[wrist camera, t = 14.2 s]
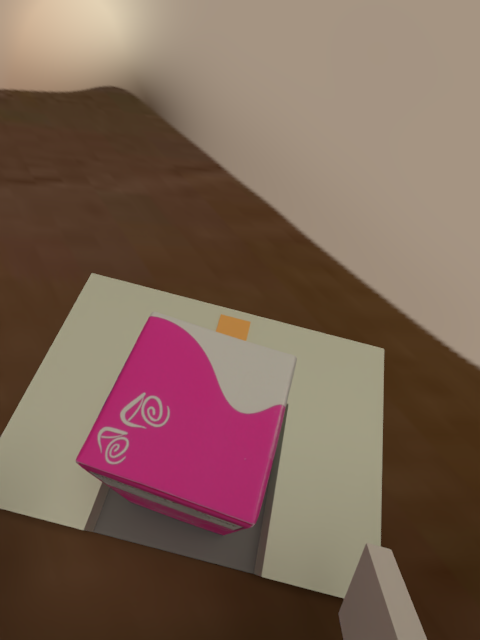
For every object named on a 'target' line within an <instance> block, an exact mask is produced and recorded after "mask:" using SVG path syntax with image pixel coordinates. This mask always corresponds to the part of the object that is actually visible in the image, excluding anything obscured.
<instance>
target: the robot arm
mask: <svg viewBox="0 0 480 640" xmlns="http://www.w3.org/2000/svg"><path fill="white" fill-rule="evenodd" d="M338 614H339V619H340V624H341V630H342V635H343V640H427V638H426V636H425V633H424V631H423V628H422V626H421V623H420V621H419V618H418V616H417V613H416V611H415V608H414V606H413V603H412V601H411V598H410V596H409V593H408V591H407V588H406V586H405V583H404V581H403V578H402V576H401V573H400V571H399V568H398V566H397V563H396V561H395V558H394V556H393V553H392V551H391V549H388V548H384V547H380V546H376V545H373V544H369V543H366V545H365V547H364V550H363V552H362V555H361V557H360V560H359V563H358V565H357V568H356V570H355V573H354V575H353V578H352V580H351V583H350V585H349V588H348V590H347V593H346V595H345V598H344V600H343V603H342V606H341V608H340V611H339V613H338Z"/></svg>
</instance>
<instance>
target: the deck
mask: <svg viewBox="0 0 480 640" xmlns="http://www.w3.org/2000/svg"><path fill="white" fill-rule="evenodd" d="M152 312H158V313H161V314H164V315H167V316H170V317H173V318H176V319H179V320H182V321H185V322H189V323H192V324H195V325H198V326H201V327H204V328H207V329H210V330H213V331H216V332H219V333H222V334H225V335H228V336H231V337H234V338H238V339H241V340H244V341H247V342H251V343H254V344H257V345H261V346H264V347H267V348H271V349H274V350H277V351H281V352H284V353H288V354H291V355H294V356H296V357H297V362H296V367H295V371H294V376H293V379H292V384H291V388H290V392H289V396H288V401H287V405H286V409H285V413H284V418H283V422H282V426H281V431H280V435H279V439H278V443H277V448H276V452H275V456H274V460H273V464H272V468H271V472H270V476H269V480H268V484H267V488H266V492H265V495H264V499H263V503H262V507H261V510H260V514H259V517H258V519H257V522H256V524H255V525H254V526H253V527H251V528H247V529H242V530H239V531H236V532H233V533H230V534H226V535H220V534H217V533H214V532H211V531H208V530H205V529H202V528H200V527H197V526H194V525H191V524H188V523H186V522H183V521H180V520H177V519H174V518H172V517H169V516H166V515H164V514H161V513H158V512H156V511H153V510H150V509H148V508H145V507H142V506H140V505H137V504H134V503H131V502H130V501H128V500H127V499H126V498H124V497H123V496H121V495H120V494H119V493H117V492H116V491H115V490H113V489H112V488H110V487H108V486H107V485H106V484H104V483H103V482H102V481H100V480H99V479H97V478H96V477H94V476H93V475H91V474H90V473H89V472H87V471H86V470H85V469H83V468H82V467H81V466H79V465H78V464H77V463H76V458H77V456H78V454H79V452H80V450H81V448H82V447H83V445H84V443H85V441H86V439H87V437H88V435H89V433H90V431H91V429H92V427H93V425H94V423H95V421H96V419H97V418H98V415H99V413H100V411H101V409H102V407H103V405H104V403H105V401H106V399H107V397H108V396H109V394H110V392H111V390H112V388H113V386H114V384H115V382H116V380H117V378H118V376H119V374H120V372H121V370H122V368H123V366H124V364H125V362H126V360H127V359H128V357H129V355H130V353H131V351H132V349H133V347H134V345H135V343H136V341H137V339H138V337H139V335H140V333H141V331H142V329H143V327H144V325H145V324H146V322H147V320H148V318H149V316H150V314H151V313H152ZM383 385H384V349H382V348H379V347H375V346H371V345H367V344H363V343H359V342H355V341H352V340H348V339H344V338H340V337H336V336H332V335H328V334H325V333H321V332H317V331H313V330H309V329H305V328H302V327H298V326H294V325H290V324H286V323H282V322H278V321H275V320H271V319H267V318H263V317H259V316H255V315H251V314H248V313H244V312H240V311H236V310H232V309H228V308H225V307H221V306H217V305H213V304H209V303H205V302H201V301H198V300H194V299H190V298H186V297H182V296H178V295H175V294H171V293H167V292H163V291H159V290H155V289H151V288H148V287H144V286H140V285H136V284H132V283H128V282H124V281H121V280H117V279H113V278H109V277H105V276H101V275H98V274H94V273H92V274H91V275H90V277H89V279H88V281H87V283H86V284H85V286H84V288H83V290H82V292H81V293H80V295H79V297H78V299H77V301H76V302H75V304H74V306H73V308H72V310H71V311H70V313H69V315H68V317H67V319H66V320H65V322H64V324H63V326H62V328H61V329H60V331H59V333H58V335H57V337H56V338H55V340H54V342H53V344H52V346H51V347H50V349H49V351H48V353H47V355H46V356H45V358H44V360H43V362H42V364H41V365H40V367H39V369H38V371H37V373H36V374H35V376H34V378H33V380H32V382H31V383H30V385H29V387H28V389H27V391H26V392H25V394H24V396H23V398H22V400H21V401H20V403H19V405H18V407H17V409H16V410H15V412H14V414H13V416H12V418H11V419H10V421H9V423H8V425H7V427H6V428H5V430H4V432H3V434H2V436H1V437H0V509H4V510H8V511H12V512H16V513H19V514H23V515H27V516H31V517H35V518H38V519H42V520H46V521H50V522H54V523H58V524H61V525H65V526H69V527H73V528H77V529H80V530H85V531H91V532H96V533H99V534H103V535H107V536H111V537H115V538H118V539H122V540H126V541H130V542H134V543H138V544H141V545H145V546H149V547H153V548H157V549H160V550H164V551H168V552H172V553H176V554H180V555H183V556H187V557H191V558H195V559H199V560H202V561H206V562H210V563H214V564H218V565H222V566H225V567H229V568H233V569H237V570H241V571H244V572H248V573H252V574H255V575H258V576H260V577H264V578H268V579H271V580H275V581H279V582H283V583H287V584H290V585H294V586H298V587H302V588H306V589H310V590H313V591H317V592H321V593H325V594H329V595H332V596H336V597H340V598H345V595H346V593H347V590H348V588H349V585H350V583H351V580H352V578H353V575H354V573H355V570H356V568H357V565H358V563H359V560H360V557H361V555H362V552H363V550H364V547H365V545H366V543H369V544H373V545H376V546H380V547H381V499H382V442H383Z"/></svg>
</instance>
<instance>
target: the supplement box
mask: <svg viewBox="0 0 480 640" xmlns="http://www.w3.org/2000/svg"><path fill="white" fill-rule="evenodd" d="M296 362H297V357H296V356H294V355H291V354H288V353H284V352H281V351H277V350H274V349H271V348H267V347H264V346H261V345H257V344H254V343H251V342H247V341H244V340H241V339H238V338H234V337H231V336H228V335H225V334H222V333H219V332H216V331H213V330H210V329H207V328H204V327H201V326H198V325H195V324H192V323H189V322H185V321H182V320H179V319H176V318H173V317H170V316H167V315H164V314H161V313H158V312H152V313H151V314H150V316H149V318H148V320H147V322H146V324H145V325H144V327H143V329H142V331H141V333H140V335H139V337H138V339H137V341H136V343H135V345H134V347H133V349H132V351H131V353H130V355H129V357H128V359H127V360H126V362H125V364H124V366H123V368H122V370H121V372H120V374H119V376H118V378H117V380H116V382H115V384H114V386H113V388H112V390H111V392H110V394H109V396H108V397H107V399H106V401H105V403H104V405H103V407H102V409H101V411H100V413H99V415H98V418H97V419H96V421H95V423H94V425H93V427H92V429H91V431H90V433H89V435H88V437H87V439H86V441H85V443H84V445H83V447H82V448H81V450H80V452H79V454H78V456H77V458H76V463H77V464H78V465H79V466H81V467H82V468H83V469H85V470H86V471H87V472H89V473H90V474H91V475H93V476H94V477H96V478H97V479H99V480H100V481H102V482H103V483H104V484H106V485H107V486H108V487H110V488H112V489H113V490H115V491H116V492H117V493H119V494H120V495H121V496H123V497H124V498H126V499H127V500H128V501H130V502H131V503H134V504H137V505H140V506H142V507H145V508H148V509H150V510H153V511H156V512H158V513H161V514H164V515H166V516H169V517H172V518H174V519H177V520H180V521H183V522H186V523H188V524H191V525H194V526H197V527H200V528H202V529H205V530H208V531H211V532H214V533H217V534H220V535H226V534H230V533H233V532H236V531H239V530H242V529H247V528H251V527H253V526H254V525H255V524H256V522H257V519H258V517H259V514H260V510H261V507H262V503H263V499H264V495H265V492H266V488H267V484H268V480H269V476H270V472H271V468H272V464H273V460H274V456H275V452H276V448H277V443H278V439H279V435H280V431H281V426H282V422H283V418H284V413H285V409H286V405H287V401H288V396H289V392H290V388H291V384H292V379H293V376H294V371H295V367H296Z"/></svg>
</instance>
